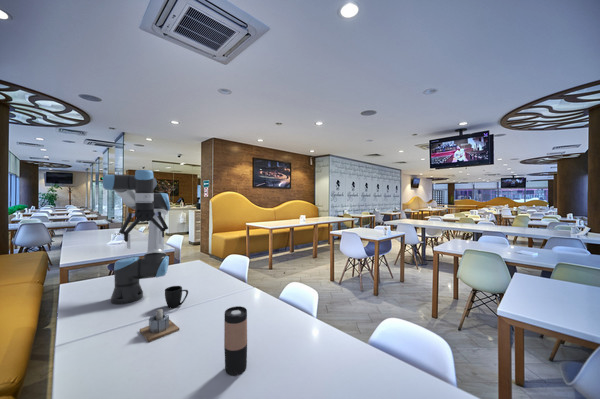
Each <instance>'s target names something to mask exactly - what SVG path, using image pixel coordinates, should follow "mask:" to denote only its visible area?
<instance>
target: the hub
mask: <svg viewBox="0 0 600 399" xmlns="http://www.w3.org/2000/svg"><path fill="white" fill-rule="evenodd" d="M169 320H170V316H169V314H167V313H163V319H160V320H156V314H154V315H151V316H150V318H149V319H148V326H149V332H150V333H160V332H163V331H165V330H167V329H168V327H169Z"/></svg>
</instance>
